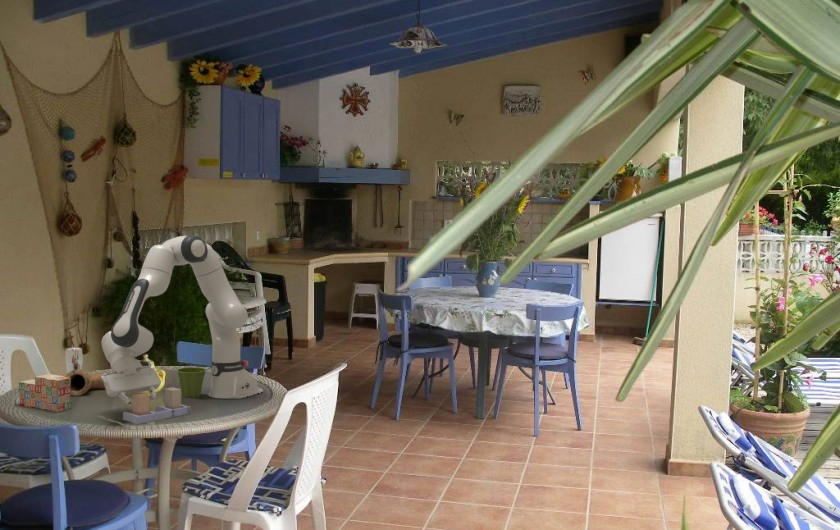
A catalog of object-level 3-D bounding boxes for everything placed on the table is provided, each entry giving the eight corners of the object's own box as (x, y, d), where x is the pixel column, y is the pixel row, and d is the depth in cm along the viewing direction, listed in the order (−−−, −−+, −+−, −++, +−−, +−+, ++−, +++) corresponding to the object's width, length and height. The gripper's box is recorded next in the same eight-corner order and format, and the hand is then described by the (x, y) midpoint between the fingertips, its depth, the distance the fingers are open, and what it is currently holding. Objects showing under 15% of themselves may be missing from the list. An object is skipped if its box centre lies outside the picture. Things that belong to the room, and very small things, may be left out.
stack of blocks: (18, 405, 343) (18, 373, 342) (32, 402, 348) (32, 371, 348) (57, 412, 333) (57, 379, 332) (71, 409, 339) (70, 377, 338)
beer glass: (69, 381, 387) (69, 347, 386) (85, 381, 387) (85, 347, 385) (62, 385, 380) (62, 350, 379) (79, 385, 380) (78, 350, 378)
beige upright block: (173, 411, 333) (173, 387, 332) (181, 413, 330) (180, 389, 329) (165, 412, 330) (164, 388, 330) (172, 415, 327) (172, 390, 326)
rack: (175, 411, 337) (175, 402, 336) (190, 415, 330) (190, 406, 330) (122, 421, 320) (122, 412, 320) (137, 426, 314) (137, 417, 313)
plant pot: (196, 401, 353) (195, 373, 352) (170, 399, 357) (170, 371, 356) (212, 395, 364) (212, 368, 363) (187, 392, 368) (187, 365, 367)
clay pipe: (59, 400, 367) (66, 396, 354) (57, 375, 369) (63, 370, 356) (107, 394, 377) (114, 390, 364) (104, 369, 379) (112, 364, 366)
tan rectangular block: (141, 417, 323) (141, 392, 322) (148, 419, 320) (148, 395, 319) (132, 419, 320) (132, 394, 320) (140, 421, 317) (139, 396, 316)
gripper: (102, 368, 315) (117, 400, 310) (154, 361, 331) (169, 391, 325) (96, 379, 319) (111, 411, 313) (147, 371, 334) (162, 401, 328)
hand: (141, 401), depth 319 cm, fingers open, 8 cm apart
